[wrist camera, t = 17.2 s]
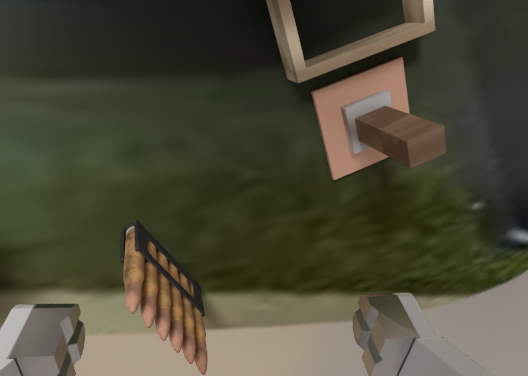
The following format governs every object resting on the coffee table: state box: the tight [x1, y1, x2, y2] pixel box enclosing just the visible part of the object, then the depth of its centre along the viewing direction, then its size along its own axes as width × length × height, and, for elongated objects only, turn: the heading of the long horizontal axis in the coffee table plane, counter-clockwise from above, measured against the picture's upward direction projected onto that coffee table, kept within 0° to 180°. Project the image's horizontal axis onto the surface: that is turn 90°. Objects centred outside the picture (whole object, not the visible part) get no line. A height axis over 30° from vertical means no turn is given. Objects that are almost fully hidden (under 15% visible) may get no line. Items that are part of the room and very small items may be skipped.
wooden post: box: [341, 90, 446, 169], centre depth 35 cm, size 5×5×10 cm
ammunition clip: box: [121, 221, 207, 375], centre depth 34 cm, size 11×2×12 cm, turn 31°
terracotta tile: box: [311, 57, 410, 180], centre depth 40 cm, size 10×10×1 cm
